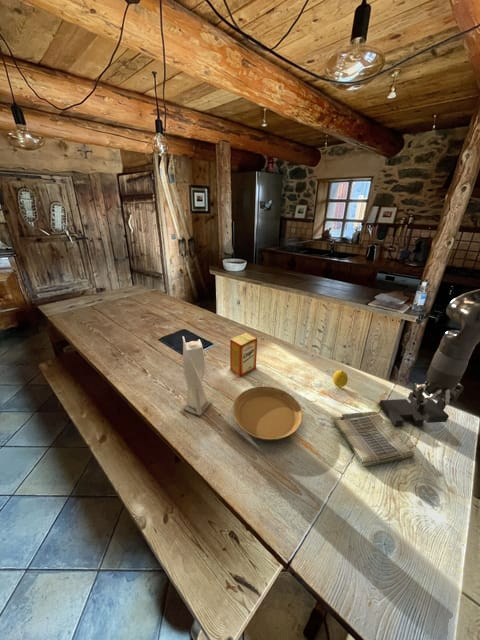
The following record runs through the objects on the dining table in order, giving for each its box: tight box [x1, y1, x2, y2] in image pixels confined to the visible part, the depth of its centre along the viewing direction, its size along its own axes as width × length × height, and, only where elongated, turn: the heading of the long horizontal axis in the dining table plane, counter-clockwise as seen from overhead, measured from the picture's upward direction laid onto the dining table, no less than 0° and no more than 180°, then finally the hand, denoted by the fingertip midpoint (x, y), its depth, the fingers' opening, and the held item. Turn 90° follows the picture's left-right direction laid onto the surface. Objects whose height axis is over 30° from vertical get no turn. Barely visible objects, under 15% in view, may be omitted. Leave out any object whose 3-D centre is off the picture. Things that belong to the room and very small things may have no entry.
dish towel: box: [333, 410, 415, 467], centre depth 85 cm, size 19×18×3 cm
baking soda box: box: [229, 332, 258, 378], centre depth 115 cm, size 10×6×16 cm
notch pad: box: [378, 398, 425, 427], centre depth 95 cm, size 10×10×2 cm
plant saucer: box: [232, 385, 303, 441], centre depth 93 cm, size 24×24×3 cm
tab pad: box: [407, 391, 450, 424], centre depth 83 cm, size 6×10×2 cm, turn 4°
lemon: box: [332, 369, 349, 388], centre depth 107 cm, size 6×6×8 cm
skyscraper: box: [182, 336, 212, 417], centre depth 92 cm, size 8×8×28 cm
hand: (428, 411), depth 82 cm, fingers closed on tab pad, 6 cm apart
